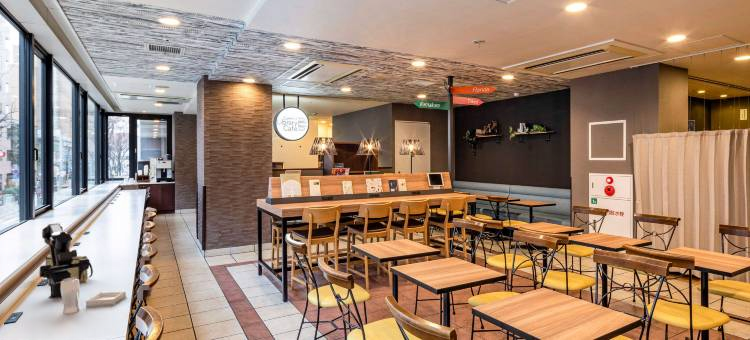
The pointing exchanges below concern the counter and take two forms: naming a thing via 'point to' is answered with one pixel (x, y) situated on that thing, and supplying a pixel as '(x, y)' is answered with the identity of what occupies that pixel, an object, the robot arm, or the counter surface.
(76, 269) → the clutch purse
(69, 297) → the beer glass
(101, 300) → the tray
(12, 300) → the counter surface
